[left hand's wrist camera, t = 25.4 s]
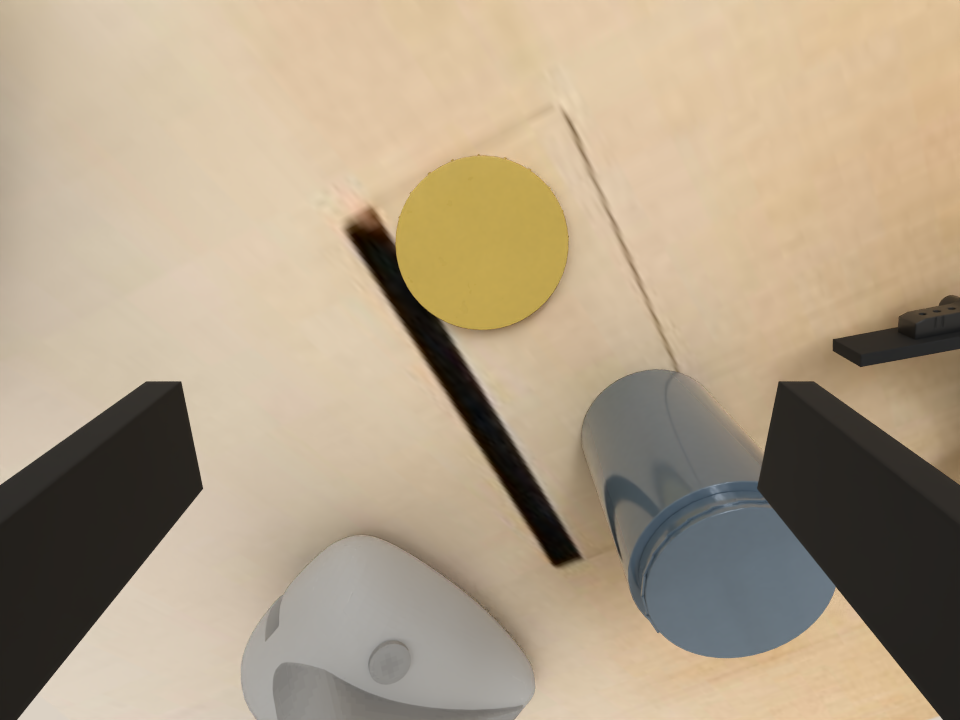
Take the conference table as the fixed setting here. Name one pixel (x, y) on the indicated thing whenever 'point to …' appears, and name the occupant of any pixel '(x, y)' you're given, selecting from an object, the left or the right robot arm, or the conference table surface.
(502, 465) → the conference table surface
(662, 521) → the jar
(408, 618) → the projector
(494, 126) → the conference table surface
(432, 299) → the lid
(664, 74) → the conference table surface
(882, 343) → the right robot arm
